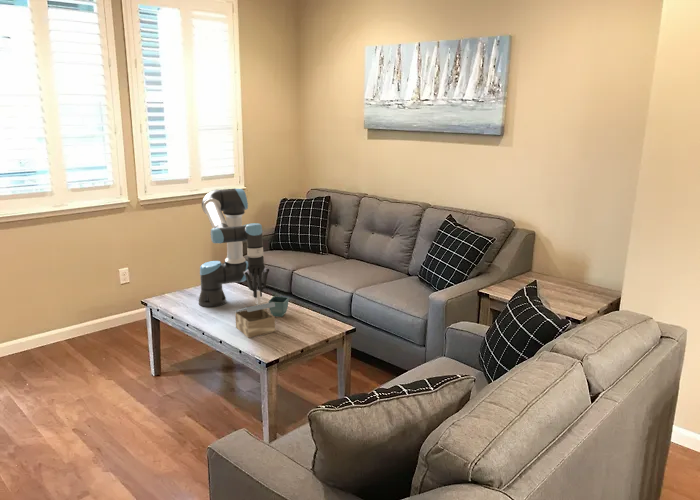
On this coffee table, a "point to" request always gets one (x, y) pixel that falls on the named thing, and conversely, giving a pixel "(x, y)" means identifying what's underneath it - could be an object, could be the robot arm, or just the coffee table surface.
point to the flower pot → (279, 305)
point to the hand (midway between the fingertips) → (258, 303)
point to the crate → (255, 323)
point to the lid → (257, 307)
